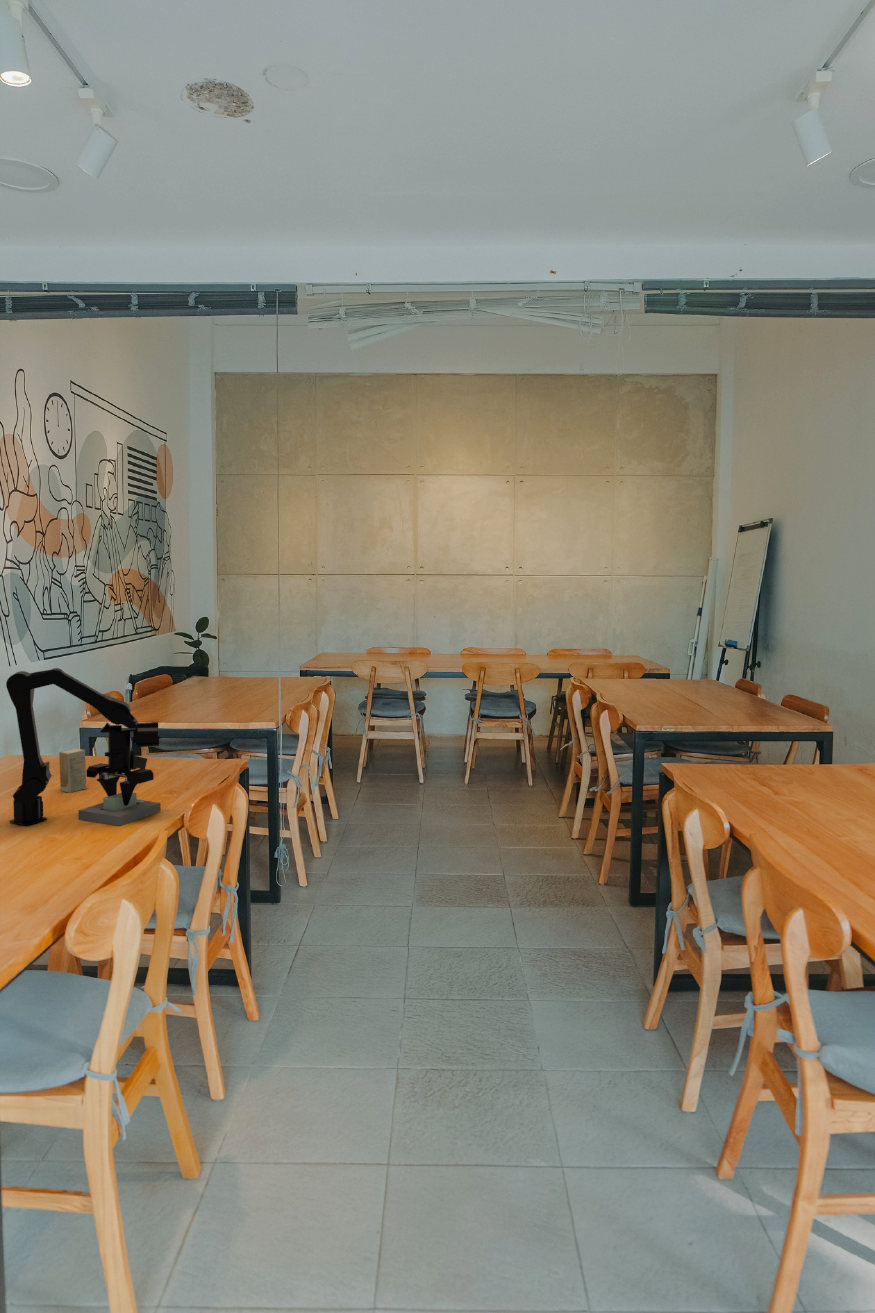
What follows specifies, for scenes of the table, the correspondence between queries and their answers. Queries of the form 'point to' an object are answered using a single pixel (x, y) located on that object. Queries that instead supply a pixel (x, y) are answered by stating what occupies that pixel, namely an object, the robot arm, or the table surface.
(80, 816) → the socket board
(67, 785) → the skincare box
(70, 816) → the table surface
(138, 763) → the robot arm
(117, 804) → the key block
